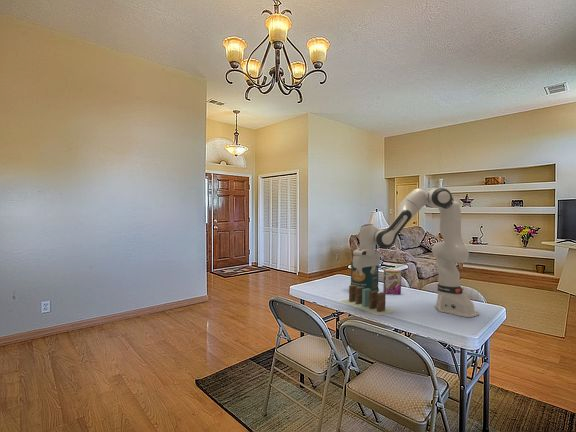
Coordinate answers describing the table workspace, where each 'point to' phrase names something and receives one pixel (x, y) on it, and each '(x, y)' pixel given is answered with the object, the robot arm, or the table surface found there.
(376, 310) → the felt mat
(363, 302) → the teal tile
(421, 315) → the table surface
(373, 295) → the tile
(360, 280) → the donation box
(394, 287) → the candy bar box
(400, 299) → the table surface
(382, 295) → the tile
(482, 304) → the table surface
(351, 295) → the tile
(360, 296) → the tile
